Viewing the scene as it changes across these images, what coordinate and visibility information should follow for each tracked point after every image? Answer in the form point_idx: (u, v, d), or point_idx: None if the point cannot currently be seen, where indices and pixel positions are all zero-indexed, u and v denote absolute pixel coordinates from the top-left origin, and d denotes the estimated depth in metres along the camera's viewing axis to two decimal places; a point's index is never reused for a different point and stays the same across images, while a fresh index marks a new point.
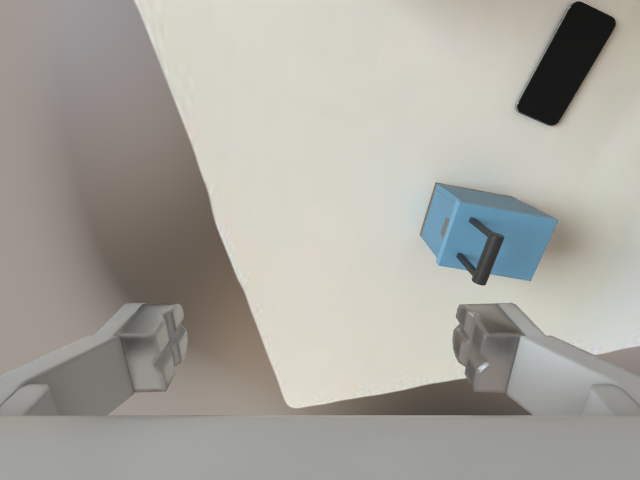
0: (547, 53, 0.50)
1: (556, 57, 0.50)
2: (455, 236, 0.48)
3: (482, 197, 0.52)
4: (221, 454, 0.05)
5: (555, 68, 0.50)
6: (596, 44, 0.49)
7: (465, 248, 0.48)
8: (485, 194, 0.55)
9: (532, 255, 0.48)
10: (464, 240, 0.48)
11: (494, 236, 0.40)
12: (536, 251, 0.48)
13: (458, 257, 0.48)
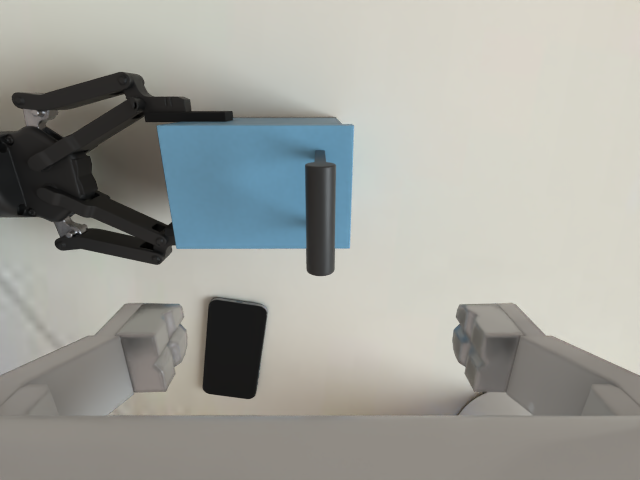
0: (258, 360, 0.46)
1: (246, 358, 0.46)
2: (338, 190, 0.26)
3: None
4: (221, 454, 0.05)
5: (242, 350, 0.45)
6: (212, 374, 0.47)
7: None
8: None
9: (184, 180, 0.26)
10: None
11: (330, 272, 0.20)
12: (180, 189, 0.26)
13: None
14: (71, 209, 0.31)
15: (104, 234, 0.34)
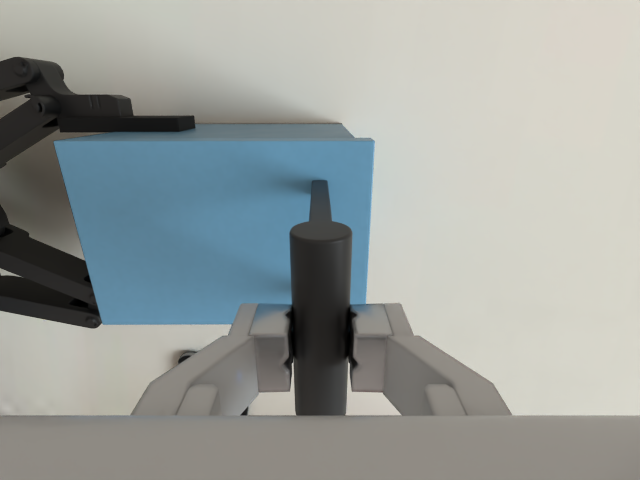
0: None
1: None
2: None
3: None
4: (221, 454, 0.05)
5: None
6: None
7: (308, 211, 0.16)
8: None
9: (105, 227, 0.16)
10: None
11: None
12: (101, 239, 0.17)
13: None
14: None
15: (21, 285, 0.25)
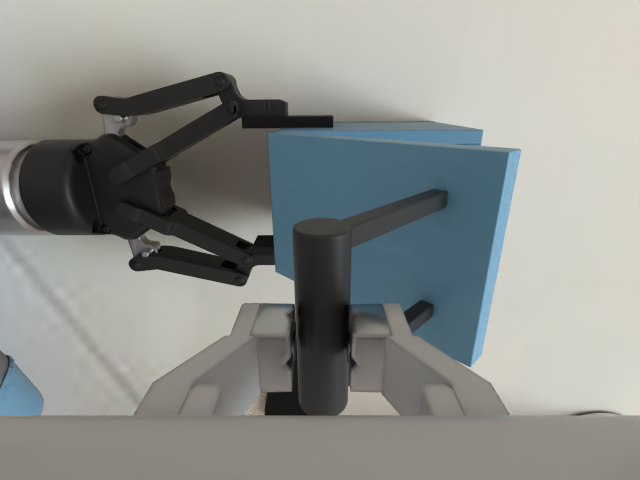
0: None
1: None
2: (463, 264, 0.14)
3: None
4: (221, 454, 0.05)
5: None
6: (275, 398, 0.43)
7: (425, 221, 0.15)
8: None
9: (284, 199, 0.22)
10: (433, 248, 0.15)
11: None
12: (281, 208, 0.22)
13: (439, 201, 0.14)
14: (151, 226, 0.28)
15: (180, 252, 0.31)
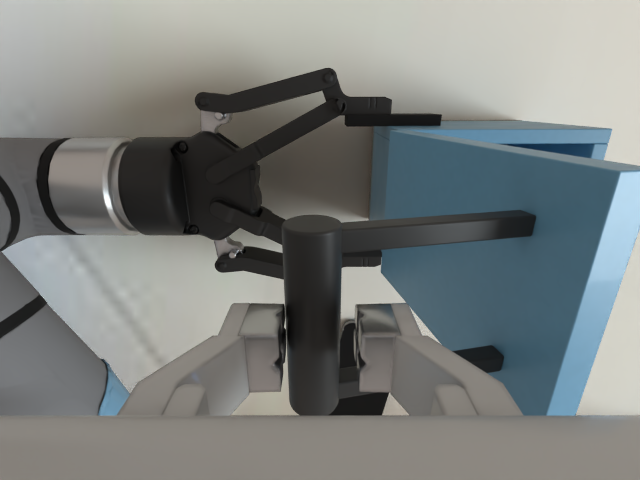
0: None
1: None
2: (542, 316, 0.11)
3: None
4: (221, 454, 0.05)
5: None
6: None
7: (508, 249, 0.12)
8: None
9: (394, 200, 0.21)
10: (512, 285, 0.12)
11: (299, 413, 0.11)
12: (391, 208, 0.21)
13: (514, 225, 0.11)
14: (244, 226, 0.27)
15: (264, 253, 0.30)
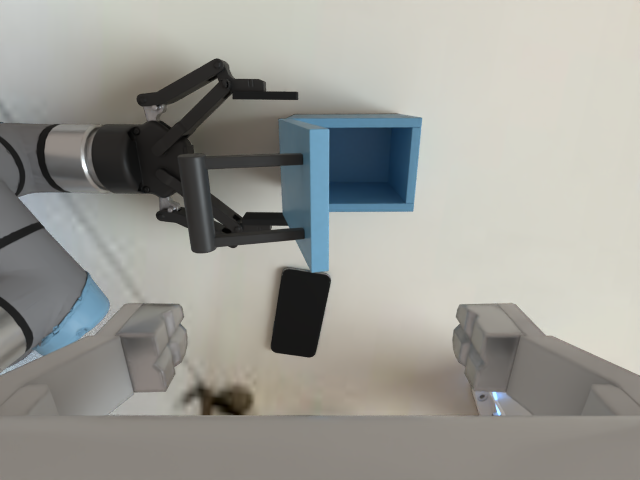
0: (320, 322, 0.54)
1: (310, 321, 0.54)
2: (307, 201, 0.23)
3: None
4: (221, 454, 0.05)
5: (307, 313, 0.53)
6: (279, 334, 0.55)
7: (301, 174, 0.24)
8: None
9: None
10: (302, 192, 0.24)
11: (194, 251, 0.23)
12: (282, 169, 0.33)
13: (291, 158, 0.23)
14: (177, 190, 0.39)
15: None
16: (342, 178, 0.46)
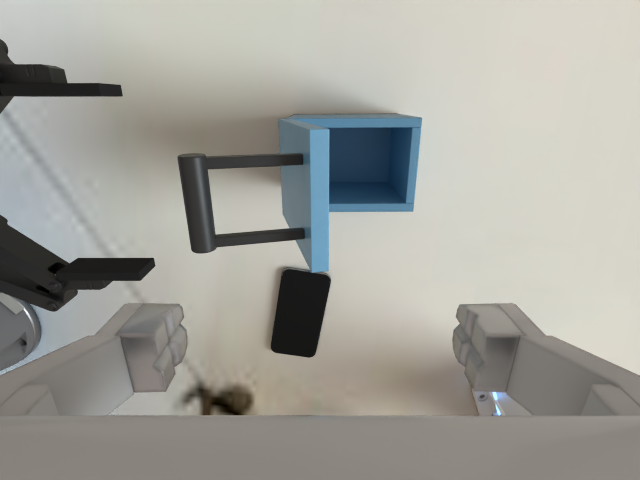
0: (320, 322, 0.54)
1: (310, 321, 0.54)
2: (307, 201, 0.23)
3: None
4: (221, 454, 0.05)
5: (307, 313, 0.53)
6: (279, 334, 0.55)
7: (301, 174, 0.24)
8: None
9: None
10: (302, 192, 0.24)
11: (194, 251, 0.23)
12: (282, 169, 0.33)
13: (291, 159, 0.23)
14: None
15: None
16: (342, 178, 0.46)
